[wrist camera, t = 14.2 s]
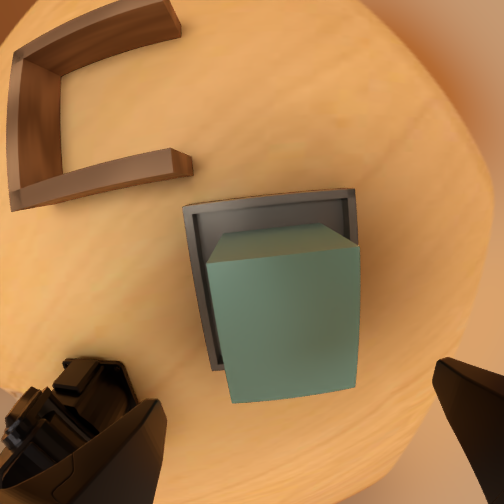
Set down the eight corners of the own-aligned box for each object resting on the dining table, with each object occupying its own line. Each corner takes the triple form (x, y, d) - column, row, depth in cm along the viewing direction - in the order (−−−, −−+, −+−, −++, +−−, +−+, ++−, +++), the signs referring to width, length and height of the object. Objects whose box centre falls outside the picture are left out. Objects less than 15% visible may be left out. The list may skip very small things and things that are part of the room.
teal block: (325, 325, 20) (355, 387, 13) (237, 335, 20) (232, 403, 13) (320, 223, 18) (359, 246, 11) (223, 233, 18) (205, 263, 11)
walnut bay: (193, 175, 18) (173, 172, 13) (54, 204, 18) (11, 212, 13) (180, 24, 16) (162, -13, 11) (50, 69, 16) (13, 52, 11)
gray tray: (348, 339, 21) (356, 353, 19) (214, 355, 21) (211, 370, 19) (344, 188, 18) (355, 188, 16) (189, 204, 18) (182, 206, 17)
